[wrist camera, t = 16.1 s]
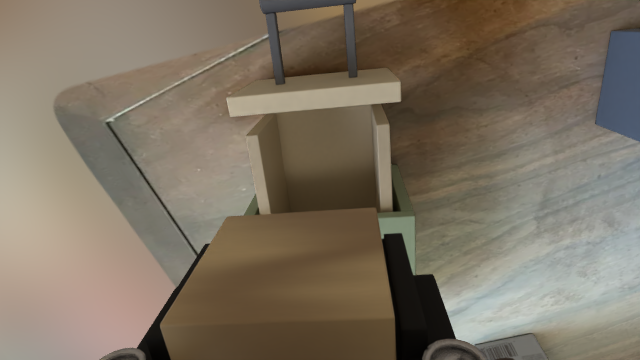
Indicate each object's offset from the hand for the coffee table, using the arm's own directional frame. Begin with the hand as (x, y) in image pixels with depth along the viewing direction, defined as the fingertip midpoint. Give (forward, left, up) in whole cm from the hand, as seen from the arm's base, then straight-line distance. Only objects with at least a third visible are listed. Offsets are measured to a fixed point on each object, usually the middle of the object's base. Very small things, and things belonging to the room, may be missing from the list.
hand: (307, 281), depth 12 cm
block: (0, 0, 0) cm, 0 cm away
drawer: (+1, 0, -21) cm, 21 cm away
